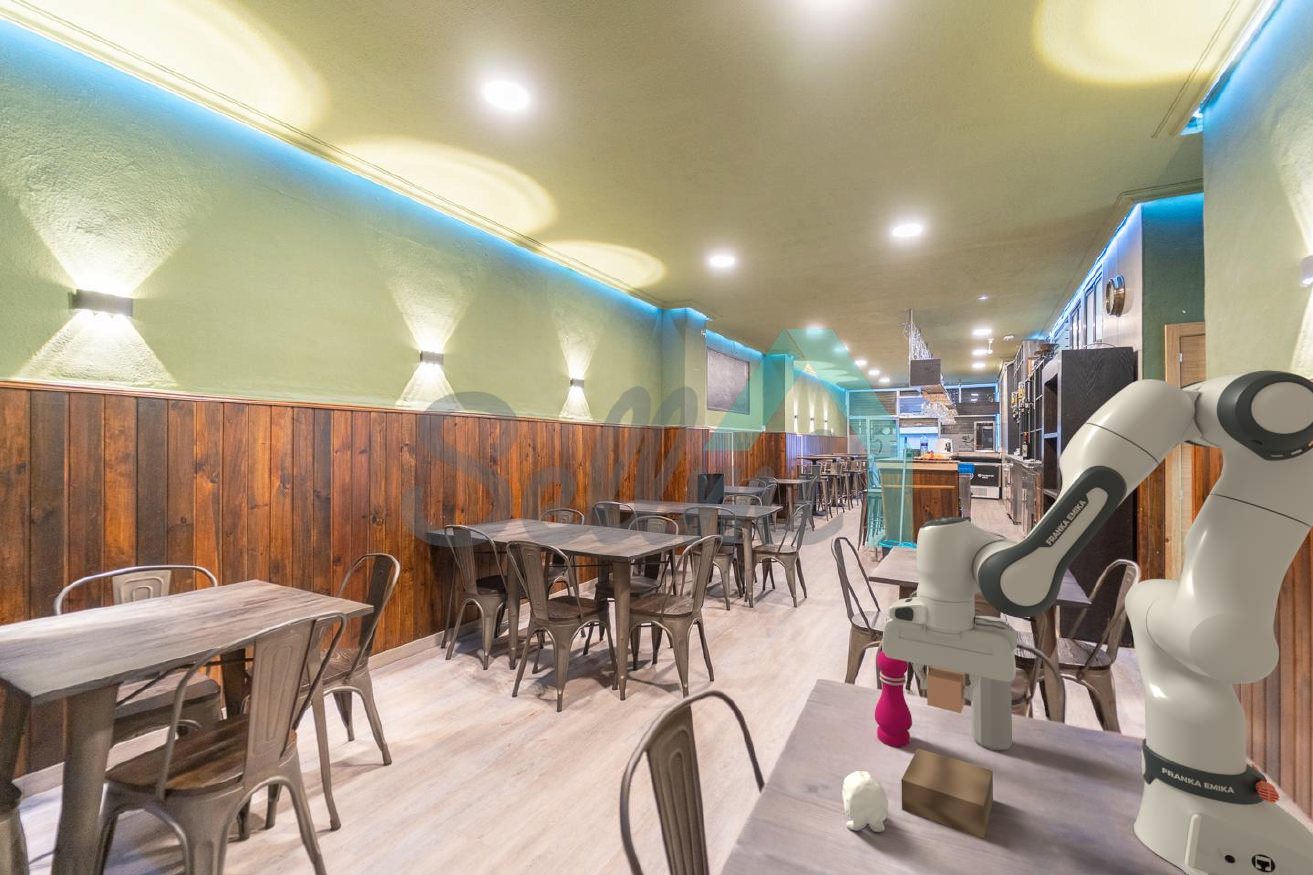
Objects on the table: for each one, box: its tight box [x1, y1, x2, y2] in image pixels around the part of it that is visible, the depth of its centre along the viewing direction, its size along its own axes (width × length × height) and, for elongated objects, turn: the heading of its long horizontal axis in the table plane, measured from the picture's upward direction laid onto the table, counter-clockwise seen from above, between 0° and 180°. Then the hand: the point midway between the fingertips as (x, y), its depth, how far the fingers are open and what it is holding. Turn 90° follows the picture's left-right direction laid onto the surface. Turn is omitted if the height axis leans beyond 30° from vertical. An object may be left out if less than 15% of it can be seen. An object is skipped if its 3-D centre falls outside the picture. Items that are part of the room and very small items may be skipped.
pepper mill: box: [874, 650, 913, 748], centre depth 118 cm, size 7×7×20 cm
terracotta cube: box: [926, 667, 966, 714], centre depth 97 cm, size 5×5×5 cm
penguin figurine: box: [840, 770, 889, 833], centre depth 93 cm, size 6×8×12 cm
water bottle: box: [970, 615, 1013, 752], centre depth 117 cm, size 9×8×25 cm
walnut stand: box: [900, 748, 994, 839], centre depth 96 cm, size 12×12×5 cm
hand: (946, 693), depth 97 cm, fingers closed on terracotta cube, 5 cm apart
